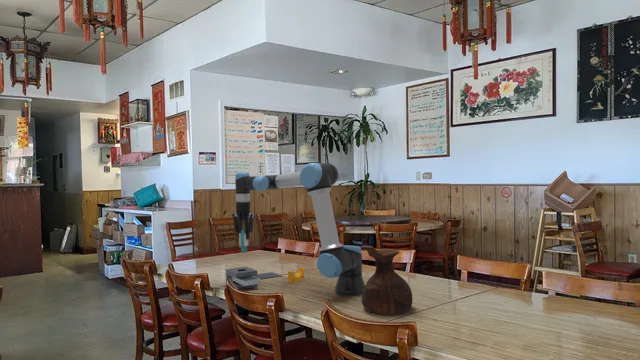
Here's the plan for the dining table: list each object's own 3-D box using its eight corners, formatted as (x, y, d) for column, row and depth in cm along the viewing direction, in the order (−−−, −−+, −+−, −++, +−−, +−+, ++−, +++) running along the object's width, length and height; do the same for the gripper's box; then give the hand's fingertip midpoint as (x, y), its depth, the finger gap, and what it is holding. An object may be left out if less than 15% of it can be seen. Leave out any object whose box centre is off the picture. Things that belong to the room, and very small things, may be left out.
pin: (247, 252, 262) (247, 230, 261) (242, 252, 260) (242, 230, 260) (245, 251, 264) (245, 229, 264) (240, 252, 262) (239, 229, 262)
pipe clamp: (297, 278, 277) (297, 267, 277) (304, 279, 275) (304, 267, 275) (285, 282, 267) (285, 271, 267) (292, 283, 265) (291, 271, 265)
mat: (281, 276, 282) (281, 275, 282) (262, 279, 276) (262, 278, 276) (272, 272, 292) (272, 272, 292) (253, 275, 286) (253, 274, 286)
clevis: (262, 288, 253) (262, 272, 253) (241, 292, 247) (240, 275, 247) (246, 281, 270) (246, 266, 270) (226, 284, 264) (225, 269, 264)
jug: (359, 306, 217) (358, 239, 217) (408, 306, 217) (407, 238, 216) (362, 322, 196) (361, 247, 195) (416, 321, 195) (415, 246, 194)
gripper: (259, 201, 261) (260, 245, 262) (235, 200, 268) (236, 243, 269) (251, 202, 255) (252, 247, 255) (226, 201, 261) (227, 245, 262)
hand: (243, 245), depth 262 cm, fingers closed on pin, 2 cm apart
